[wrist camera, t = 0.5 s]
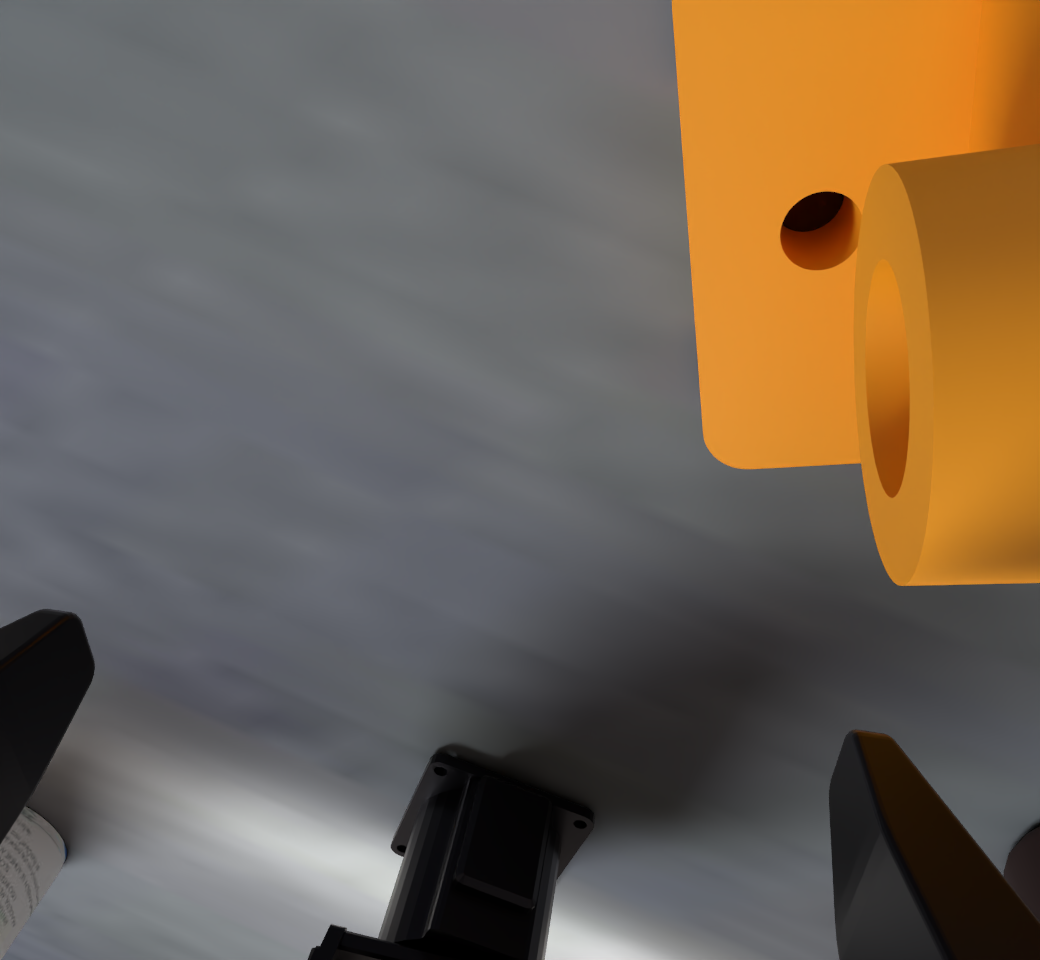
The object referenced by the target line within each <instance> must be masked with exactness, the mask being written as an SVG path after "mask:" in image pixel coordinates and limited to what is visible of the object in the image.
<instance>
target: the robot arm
mask: <svg viewBox="0 0 1040 960" xmlns="http://www.w3.org/2000/svg"><path fill="white" fill-rule="evenodd" d="M94 670H95V663H94V658H93V655H92V652H91V649H90V646H89V643H88V639H87V636H86V633H85V630H84V627H83V624H82V621H81V619H80V618H79V617H78V616H77V615H76V614H74V613H72V612H65V611H59V610H52V609H42V610H38V611H36V612H34V613H31V614H29V615H27V616H25V617H23V618H21V619H19V620H17V621H15V622H13V623H11V624H9V625H6V626H4V627H2V628H0V845H1V843H2V841H3V840H4V838H5V837H6V835H7V834H8V832H9V831H10V829H11V828H12V826H13V825H14V823H15V821H16V820H17V818H18V817H19V815H20V814H21V812H22V811H23V809H24V807H25V806H26V804H27V802H28V801H29V799H30V798H31V796H32V794H33V792H34V791H35V789H36V787H37V785H38V784H39V782H40V780H41V778H42V776H43V775H44V773H45V771H46V769H47V767H48V765H49V763H50V761H51V759H52V757H53V755H54V753H55V751H56V749H57V748H58V746H59V744H60V742H61V740H62V738H63V736H64V734H65V732H66V730H67V728H68V726H69V724H70V723H71V721H72V719H73V717H74V715H75V713H76V711H77V709H78V707H79V705H80V703H81V701H82V699H83V698H84V696H85V694H86V692H87V690H88V688H89V686H90V684H91V682H92V679H93V676H94ZM829 809H830V829H831V849H832V869H833V889H834V908H835V925H836V940H837V947H838V954H839V960H1040V922H1039V920H1038V919H1037V918H1036V917H1035V915H1034V914H1033V913H1032V912H1031V910H1030V909H1029V908H1028V907H1027V905H1026V904H1025V903H1024V902H1023V900H1022V899H1021V898H1020V897H1019V895H1018V894H1017V893H1016V892H1015V890H1014V889H1013V888H1012V887H1011V885H1010V884H1009V883H1008V882H1007V880H1006V879H1005V878H1004V877H1003V875H1002V874H1001V873H1000V872H999V870H998V869H997V868H996V866H995V865H994V864H993V863H992V861H991V860H990V859H989V858H988V856H987V855H986V854H985V853H984V851H983V850H982V849H981V848H980V846H979V845H978V844H977V843H976V841H975V840H974V839H973V838H972V836H971V835H970V834H969V833H968V831H967V830H966V829H965V828H964V826H963V825H962V824H961V823H960V821H959V820H958V819H957V818H956V816H955V815H954V814H953V813H952V811H951V810H950V809H949V808H948V806H947V805H946V804H945V803H944V801H943V800H942V799H941V798H940V796H939V795H938V794H937V793H936V791H935V790H934V789H933V788H932V786H931V785H930V784H929V783H928V781H927V780H926V779H925V778H924V776H923V775H922V774H921V773H920V771H919V770H918V769H917V768H916V766H915V765H914V764H913V763H912V761H911V760H910V759H909V758H908V756H907V755H906V754H905V753H904V751H903V750H902V749H901V748H900V746H899V745H898V744H897V743H896V741H895V740H894V739H893V738H891V737H890V736H888V735H886V734H882V733H875V732H869V731H862V730H852V731H850V732H849V733H848V734H847V735H846V737H845V740H844V743H843V745H842V748H841V751H840V754H839V757H838V760H837V763H836V766H835V769H834V772H833V775H832V778H831V783H830V790H829ZM594 820H595V816H594V813H593V812H592V811H591V810H590V809H588V808H586V807H583V806H580V805H578V804H575V803H573V802H570V801H567V800H565V799H562V798H559V797H557V796H554V795H552V794H549V793H546V792H544V791H541V790H538V789H536V788H533V787H531V786H528V785H525V784H523V783H520V782H517V781H515V780H512V779H510V778H507V777H504V776H502V775H499V774H496V773H494V772H491V771H489V770H486V769H483V768H481V767H478V766H475V765H473V764H470V763H468V762H465V761H462V760H460V759H457V758H454V757H452V756H449V755H446V754H435V755H433V756H432V757H431V758H430V760H429V763H428V765H427V767H426V769H425V771H424V773H423V775H422V777H421V780H420V782H419V784H418V786H417V788H416V790H415V792H414V794H413V797H412V799H411V801H410V803H409V805H408V807H407V809H406V812H405V814H404V816H403V818H402V820H401V822H400V824H399V826H398V829H397V831H396V833H395V835H394V838H393V841H392V844H391V849H392V851H394V852H395V853H396V854H398V855H400V856H403V857H404V858H403V861H402V864H401V867H400V871H399V874H398V877H397V880H396V883H395V886H394V889H393V893H392V896H391V899H390V902H389V905H388V908H387V911H386V915H385V918H384V921H383V924H382V927H381V930H380V933H379V937H378V939H377V938H373V937H369V936H365V935H361V934H357V933H353V932H349V931H347V928H345V927H341V926H337V925H333V924H331V925H330V927H329V929H328V931H327V933H326V935H325V937H324V940H323V942H322V944H321V946H316V947H315V948H312V950H311V952H310V955H309V958H308V960H544V959H545V953H546V946H547V939H548V933H549V926H550V919H551V913H552V906H553V899H554V893H555V886H556V880H557V879H558V877H559V876H560V874H561V873H562V872H563V870H564V869H565V867H566V866H567V865H568V863H569V862H570V860H571V859H572V858H573V856H574V855H575V853H576V852H577V851H578V849H579V848H580V846H581V845H582V844H583V842H584V841H585V839H586V838H587V837H588V835H589V834H590V832H591V831H592V830H593V827H594Z"/></svg>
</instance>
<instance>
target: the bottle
mask: <svg viewBox="0 0 1040 960" xmlns="http://www.w3.org/2000/svg"><path fill="white" fill-rule="evenodd" d="M1004 878H1005V879H1006V880H1007V882H1008V883H1009V884H1010V885H1011V887H1012V888H1013V889H1014V890H1015V892H1016V893H1017V894H1018V895H1019V897H1020V898H1021V899H1022V900H1023V902H1024V903H1025V904H1026V905H1027V907H1028V908H1029V909H1030V910H1031V912H1032V913H1033V914H1034V915H1035V917H1036V918H1037V919H1038V920H1039V922H1040V826H1039V827H1037V828H1036V829H1034V830H1032V831H1030V832H1029V833H1027V834H1026V835H1025V836H1024V837H1023V838H1022V840H1021V841H1020V842H1019V843H1018V844H1017V845H1016V846H1015V847H1014V848H1013V849H1012V851H1011V852H1010V853H1009V855H1008V859H1007V862H1006V866H1005V869H1004Z"/></svg>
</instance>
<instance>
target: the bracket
mask: <svg viewBox="0 0 1040 960" xmlns="http://www.w3.org/2000/svg"><path fill="white" fill-rule="evenodd" d="M672 12H673V26H674V40H675V54H676V67H677V81H678V95H679V109H680V122H681V136H682V150H683V164H684V177H685V191H686V205H687V219H688V232H689V246H690V260H691V274H692V287H693V301H694V315H695V329H696V342H697V356H698V370H699V384H700V397H701V411H702V425H703V436H704V441H705V443H706V446H707V448H708V449H709V451H710V452H711V453H712V455H713V456H714V457H715V458H717V459H718V460H719V461H721V462H722V463H724V464H726V465H728V466H731V467H735V468H739V469H764V468H782V467H800V466H818V465H836V464H854V463H861V466H862V473H863V481H864V487H865V494H866V500H867V505H868V511H869V516H870V520H871V525H872V529H873V533H874V537H875V541H876V545H877V548H878V551H879V554H880V557H881V560H882V562H883V565H884V567H885V569H886V571H887V573H888V575H889V577H890V578H891V579H892V581H893V582H894V583H896V584H897V585H900V586H923V585H967V584H1012V583H1040V0H672ZM824 191H831V192H837V193H840V194H843V195H844V199H843V203H842V206H841V208H840V210H839V211H838V213H837V214H836V216H835V217H834V218H833V219H832V220H831V221H830V222H829V223H827V224H826V225H824V226H823V227H821V228H818V229H816V230H812V231H807V232H799V231H794V230H791V229H788V228H786V227H785V226H783V225H782V223H783V220H784V218H785V216H786V215H787V213H788V212H789V210H790V209H791V208H792V207H793V206H794V205H795V204H796V203H797V202H798V201H800V200H801V199H803V198H804V197H806V196H808V195H811V194H814V193H817V192H824Z"/></svg>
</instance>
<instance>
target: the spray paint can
mask: <svg viewBox="0 0 1040 960" xmlns="http://www.w3.org/2000/svg"><path fill="white" fill-rule="evenodd" d="M66 857H67V850H66V846H65V843H64V841H63V839H62V838H61V836H60V835H59V833H58V832H57V831H56V830H55V829H54V828H53V827H52V826H51V825H50V824H49V823H48V822H47V821H46V820H45V819H44V818H42V817H41V816H40V815H38V814H37V813H36V812H34V811H33V810H31V809H29V808H28V807H26V806H25V807H24V809H23V811H22V812H21V814H20V815H19V817H18V818H17V820H16V821H15V823H14V825H13V826H12V828H11V829H10V831H9V832H8V834H7V835H6V837H5V838H4V840H3V841H2V843H1V845H0V960H1V959H2V958H3V956H4V955H5V953H6V952H7V950H8V949H9V947H10V946H11V944H12V943H13V941H14V940H15V938H16V937H17V935H18V934H19V932H20V931H21V929H22V928H23V926H24V925H25V923H26V922H27V920H28V919H29V917H30V916H31V914H32V913H33V911H34V910H35V908H36V907H37V905H38V904H39V902H40V901H41V899H42V898H43V896H44V895H45V893H46V892H47V890H48V889H49V887H50V886H51V884H52V883H53V881H54V880H55V878H56V877H57V875H58V874H59V872H60V871H61V868H62V865H63V863H64V862H65V860H66Z"/></svg>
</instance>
